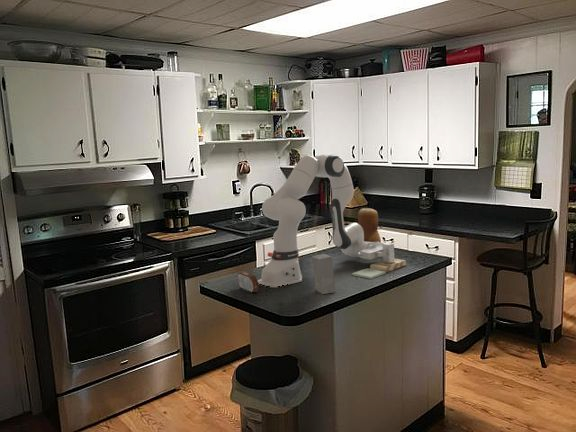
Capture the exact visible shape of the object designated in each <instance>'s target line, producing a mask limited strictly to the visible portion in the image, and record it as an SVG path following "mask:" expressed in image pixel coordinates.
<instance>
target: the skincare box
mask: <svg viewBox="0 0 576 432" xmlns="http://www.w3.org/2000/svg"><path fill="white" fill-rule="evenodd" d="M311 258H312V268H313V277H314V286H315V291H317V292H318V293H319V294H320V295H326V294H332V293H336V286H335V285H336V284H335V275H334V274H335V273H334V269H333V268H334V267H333V258H332V256H331V255H328V254H326V253H323V254H315V255H312V256H311Z"/></svg>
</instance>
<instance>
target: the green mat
mask: <svg viewBox="0 0 576 432" xmlns="http://www.w3.org/2000/svg"><path fill="white" fill-rule="evenodd" d="M351 273H352V274H351V275H352V276H355V277H360V278H364V279H369V280H373V279H375V278H377V277H378V278H379V277H380V276H382V275H385V274H386V273H385V272H384V271H379V270H374V269H370V268H367V267H366V268H365V269H360V270H358V271H355V272H351Z"/></svg>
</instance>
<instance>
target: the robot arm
mask: <svg viewBox="0 0 576 432" xmlns="http://www.w3.org/2000/svg"><path fill="white" fill-rule="evenodd" d="M315 178H328V179H329V183H330V187H331V195H332V196H331V202H330V214H331V225H332V227H331V228H332V243H333V244H334V245H333V246H335V247H336V248H338V249H340V250H341V252H342V253H343V254H344V255H346V256H350V257H354V258H357V257H358V258H361V259H364V260H373V259H376V258H379V257H382V258H383V257H386V256H387V253H385V252H384V253H383V246H382V244H384V243H385V242H381V243H380V242H366V241H364V230H363V228H362V226H361V225H360V224H358V222H351V223H350V224H347V225H346V226H345V222H344V221H345V220H344V210H345V209H346V206H347V205H348V204H349V203H350V202H351V201H352V200H353V197H354V195H355V188H354V184H353V180H352V177H351V174H350V171H349V169H348V166H347V165H345V162H344V160H343V158H342V157H340V155H338V154H337V155H336V154H331V155H330V154H321V155H315V156H312V155H309V154H307V155H304V156H302V157H301V159H300V158H299V160H298V162H297V163H296V164H295V166H294V168H293V169H292V171H291V173H290V174H289V175H288V177H287V179H286V180H285V182H284V183H283V185H282V186H281V187H280V188H279V189H278V190H277V191H276V192H275V193H274V194H273V195H271V196H269V198H267V199H265V200H264V201H263V203H262V206H261V211H262V214H263V215H264V216H265V217H266V218H268V219H271V220H273V221H278V227H277V229H276V231H275V232H274V233H273V236H272V238H273V252H267V256H268V257H269V258H271V259H270V260H269V262H268V263H267V264H266V265H265V267H263V269H261V276H260V277H261V278H260V279H257V281H258V283H259V284H262V285H265V286H264V287H266V286H270V287H269V288H279V287H278V286H280V287H283V286H282V285H284V286H288V285H292V284H296V283H297V284H298V283H300V282H303V274H302V271H301V269H300V268H301V266H300V264H299V263H300V262H299V254H300V252H299V249H298V227H299V225H300V223H301V221H302V220H303V219H304V218H305V217H306V212H307V211H306V210H307V208H306V205H305V204H304V202H302V201H301V200H300V199H301V198H303V197H305V195H306V194H307V193H308V190H309V188H310V186H311V185H312V184H313V182H314V180H315ZM259 284H258V285H259ZM287 284H288V285H287ZM262 285H261V286H262Z"/></svg>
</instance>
